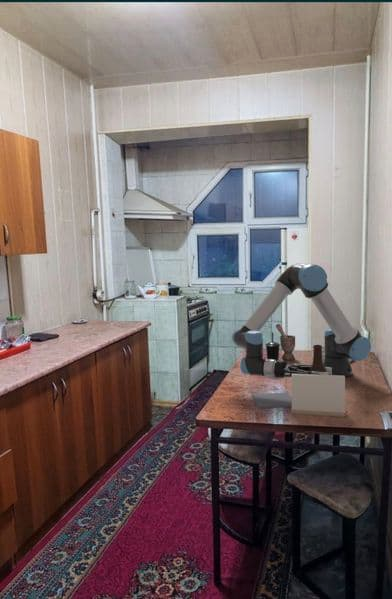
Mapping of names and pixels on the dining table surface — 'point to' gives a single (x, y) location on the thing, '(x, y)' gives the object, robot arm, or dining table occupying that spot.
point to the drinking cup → (272, 350)
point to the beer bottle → (317, 360)
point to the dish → (324, 354)
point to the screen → (318, 394)
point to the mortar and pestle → (286, 344)
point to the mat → (272, 400)
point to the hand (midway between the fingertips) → (329, 373)
